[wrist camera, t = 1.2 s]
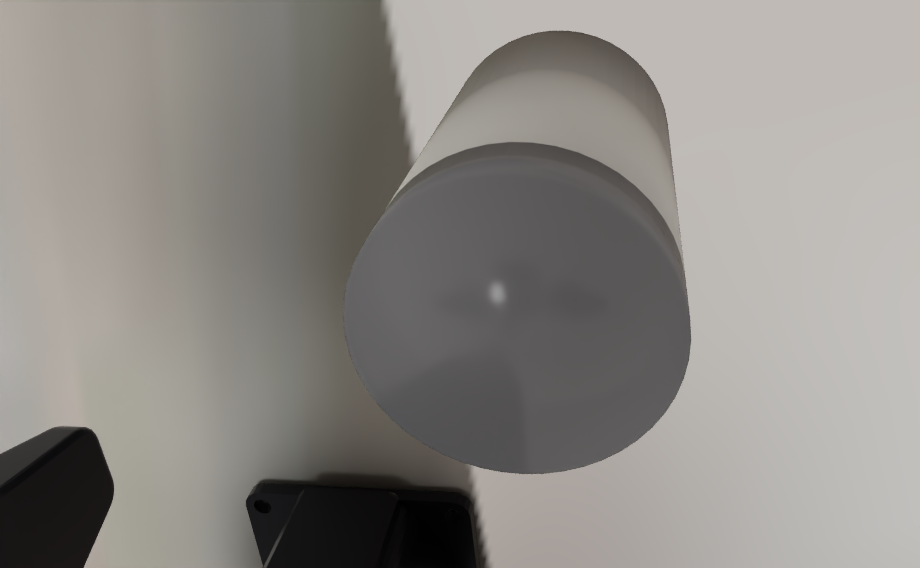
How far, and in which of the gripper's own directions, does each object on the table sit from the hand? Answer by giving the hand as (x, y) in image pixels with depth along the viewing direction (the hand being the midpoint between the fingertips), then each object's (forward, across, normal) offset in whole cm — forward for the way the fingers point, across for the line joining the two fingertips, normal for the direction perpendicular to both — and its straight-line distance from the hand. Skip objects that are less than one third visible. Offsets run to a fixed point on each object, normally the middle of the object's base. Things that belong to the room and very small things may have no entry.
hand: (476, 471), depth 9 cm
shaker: (+10, 0, 0) cm, 11 cm away
